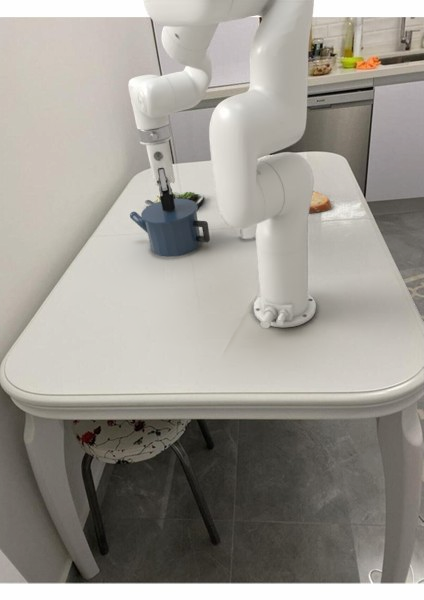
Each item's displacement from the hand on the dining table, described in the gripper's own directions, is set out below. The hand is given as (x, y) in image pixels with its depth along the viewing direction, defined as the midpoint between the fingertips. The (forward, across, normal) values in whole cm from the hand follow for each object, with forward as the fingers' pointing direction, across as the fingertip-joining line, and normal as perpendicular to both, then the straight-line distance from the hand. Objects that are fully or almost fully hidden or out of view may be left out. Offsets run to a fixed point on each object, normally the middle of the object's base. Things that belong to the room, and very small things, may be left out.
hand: (168, 206), depth 113 cm
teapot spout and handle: (+10, +1, +1) cm, 10 cm away
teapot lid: (+2, 0, 0) cm, 2 cm away
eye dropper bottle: (+12, -3, -20) cm, 24 cm away
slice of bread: (+12, +15, -39) cm, 43 cm away
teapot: (+12, 0, 0) cm, 12 cm away
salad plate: (+12, +28, -2) cm, 30 cm away
